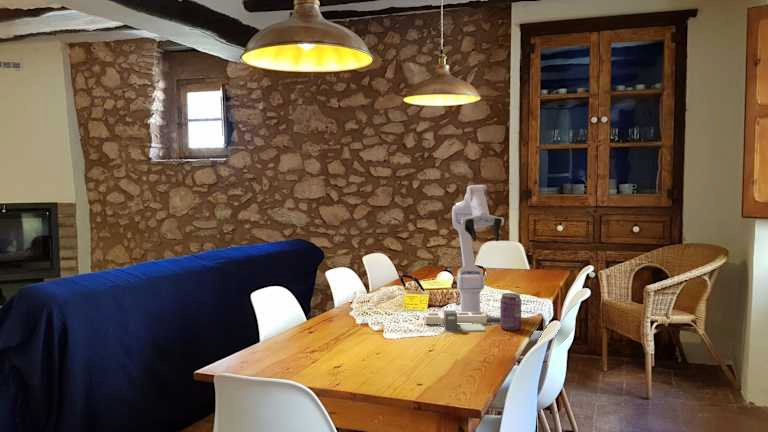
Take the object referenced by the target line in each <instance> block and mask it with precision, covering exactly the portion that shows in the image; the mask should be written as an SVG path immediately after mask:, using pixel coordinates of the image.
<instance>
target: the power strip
mask: <svg viewBox="0 0 768 432" xmlns="http://www.w3.org/2000/svg"><path fill="white" fill-rule="evenodd" d="M456 312H457V323H472V324H475V323H476V324H481V325H483V324H484V325H487V322H500V317H499V318H487V317H488V316H487V314H486V313H485V312H484V311H480V312H459V311H456ZM424 320H425V322H424V324H425V323H426V324H438V323H439V324H441V325H444V311H443V312H442V311H441V312H439V311H438V312H424V313H423V321H424ZM426 324H425V325H426Z"/></svg>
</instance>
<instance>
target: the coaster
mask: <svg viewBox="0 0 768 432" xmlns="http://www.w3.org/2000/svg"><path fill="white" fill-rule="evenodd" d="M459 326H460V327H459ZM458 327H459V329H460V331H461V332H462V333H464V332H465V333H467V332H486V328H485V327H484V326H483V324H458Z"/></svg>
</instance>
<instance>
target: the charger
mask: <svg viewBox="0 0 768 432" xmlns="http://www.w3.org/2000/svg"><path fill="white" fill-rule="evenodd" d="M443 312H444V326H443V328H444V327H445V328H444V331H457V330H458V324H457V312H458V311H456V310H455V309H454V310H453V309H452V310H443Z"/></svg>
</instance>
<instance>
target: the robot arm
mask: <svg viewBox="0 0 768 432" xmlns="http://www.w3.org/2000/svg"><path fill="white" fill-rule="evenodd" d="M451 220H452V225H453V228H454V229H455V230H456V231H457V232H458V237H459V243H460V250H461V260H462V267H460V268H459V269H458V270H457V273H456V287H457V289H458V290H459V291H460V309H461V312H481V292H482V291H483V290H484V289H485V275H484V274H483V273H484V272H483V269H481V267H479V266H477V265H476V264H475V257H474V249H473V248H474V247H473V242H476V241H477V233H476V228H486V227H490V226H493V227H492V232H493V235H494V239H495V241H496V242H499V241H500V239H499V238H500V230H501V226H504V223H505V219H504V217H500V216H496V215H492V214H490V211H489V207H488V202H487V186H486V185H484V184H471V185H469V186H467V188H466V193H465V195H464V199H463V200H462V201H460V202H457V203H455V204H454V205H453V207H452V208H451Z"/></svg>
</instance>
